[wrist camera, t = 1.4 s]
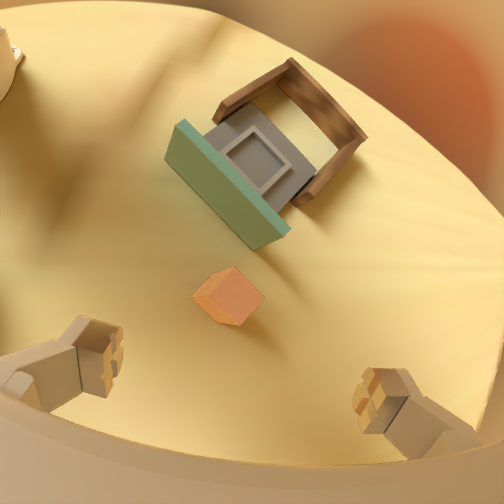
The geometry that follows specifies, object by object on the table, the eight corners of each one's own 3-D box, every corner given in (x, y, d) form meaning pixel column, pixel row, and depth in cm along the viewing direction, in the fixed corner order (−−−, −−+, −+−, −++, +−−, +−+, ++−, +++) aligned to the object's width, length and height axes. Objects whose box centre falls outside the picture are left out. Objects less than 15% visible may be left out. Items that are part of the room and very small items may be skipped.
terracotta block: (190, 297, 40) (208, 295, 31) (211, 274, 41) (234, 266, 33) (216, 322, 40) (240, 325, 32) (236, 299, 42) (264, 296, 34)
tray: (164, 159, 41) (175, 125, 33) (242, 101, 47) (265, 67, 39) (252, 250, 44) (283, 237, 35) (317, 179, 50) (352, 157, 41)
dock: (211, 119, 45) (224, 97, 39) (275, 77, 51) (291, 57, 45) (296, 207, 47) (318, 194, 42) (346, 151, 53) (368, 137, 48)
